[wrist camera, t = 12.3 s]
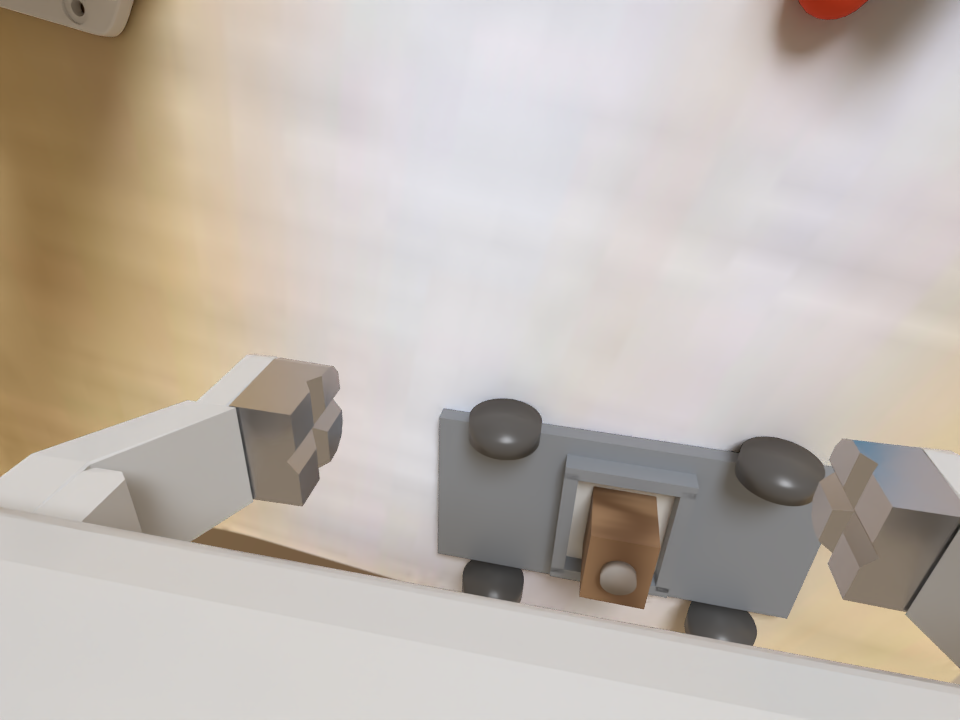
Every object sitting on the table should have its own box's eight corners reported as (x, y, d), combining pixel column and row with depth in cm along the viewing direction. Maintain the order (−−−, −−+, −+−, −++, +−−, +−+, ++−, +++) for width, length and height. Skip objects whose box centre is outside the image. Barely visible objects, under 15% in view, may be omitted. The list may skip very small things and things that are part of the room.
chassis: (441, 556, 52) (425, 603, 48) (443, 389, 44) (425, 428, 40) (777, 619, 48) (792, 677, 44) (852, 448, 40) (881, 499, 35)
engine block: (582, 544, 47) (578, 606, 42) (593, 486, 44) (590, 544, 39) (641, 555, 46) (644, 618, 41) (656, 496, 43) (661, 557, 38)
